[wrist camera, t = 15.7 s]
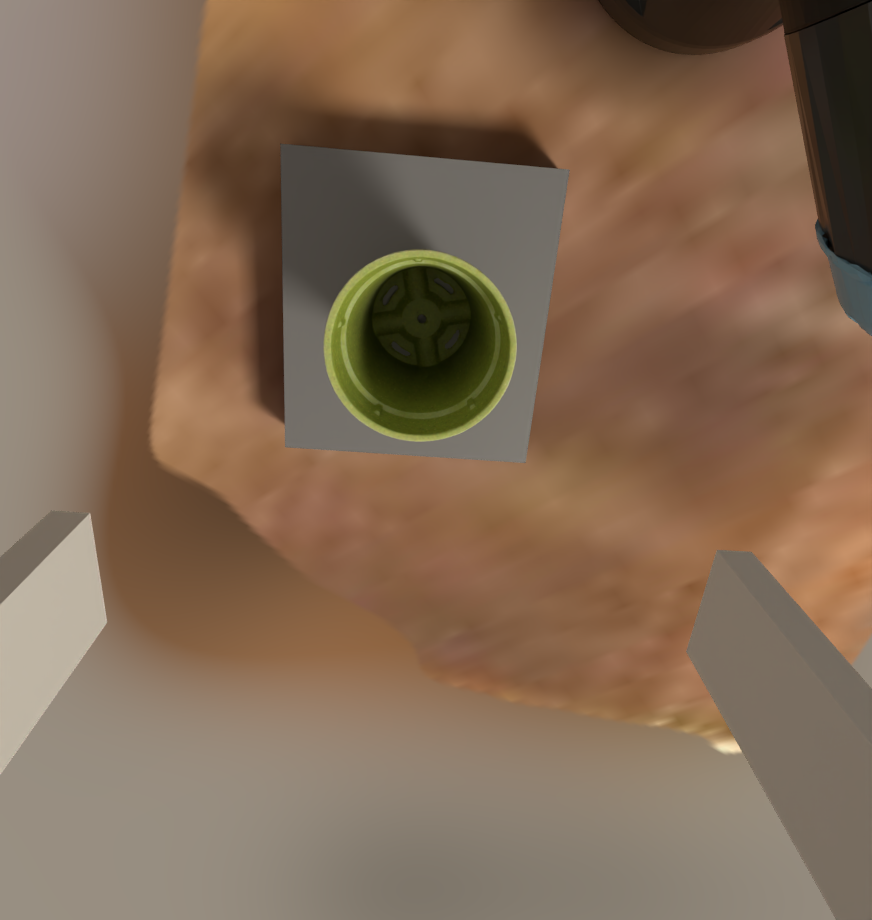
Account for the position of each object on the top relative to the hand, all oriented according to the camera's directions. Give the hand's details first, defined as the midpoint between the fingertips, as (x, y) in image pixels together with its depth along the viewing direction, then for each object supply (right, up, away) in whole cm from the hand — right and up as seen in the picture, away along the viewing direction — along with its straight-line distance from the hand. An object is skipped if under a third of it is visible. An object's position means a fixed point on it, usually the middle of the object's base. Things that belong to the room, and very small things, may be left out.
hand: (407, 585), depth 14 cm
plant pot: (0, +11, +25) cm, 28 cm away
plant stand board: (-1, +12, +28) cm, 31 cm away
